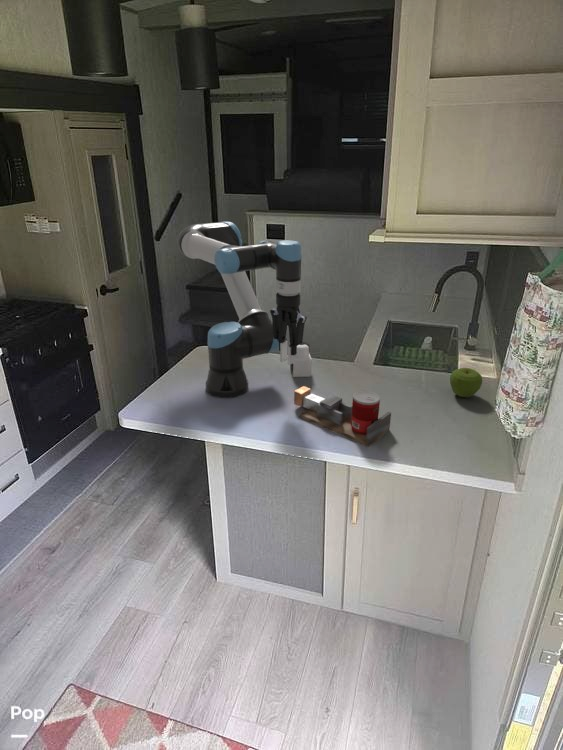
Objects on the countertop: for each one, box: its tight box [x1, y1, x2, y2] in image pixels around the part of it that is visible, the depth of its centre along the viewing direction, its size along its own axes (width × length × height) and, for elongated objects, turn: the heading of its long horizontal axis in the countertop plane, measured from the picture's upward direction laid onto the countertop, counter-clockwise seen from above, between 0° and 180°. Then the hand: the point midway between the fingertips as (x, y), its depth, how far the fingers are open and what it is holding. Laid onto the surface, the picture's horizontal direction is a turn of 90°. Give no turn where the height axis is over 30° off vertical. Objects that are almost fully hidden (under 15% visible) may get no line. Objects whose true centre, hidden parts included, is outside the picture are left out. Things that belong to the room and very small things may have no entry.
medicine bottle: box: [289, 341, 313, 378], centre depth 193 cm, size 7×7×12 cm
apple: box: [449, 367, 483, 398], centre depth 178 cm, size 11×10×10 cm
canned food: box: [351, 390, 381, 435], centre depth 155 cm, size 8×8×11 cm
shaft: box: [293, 385, 340, 412], centre depth 167 cm, size 15×5×5 cm, turn 50°
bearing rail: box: [298, 394, 392, 447], centre depth 161 cm, size 26×12×7 cm, turn 50°
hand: (287, 361), depth 170 cm, fingers open, 3 cm apart
